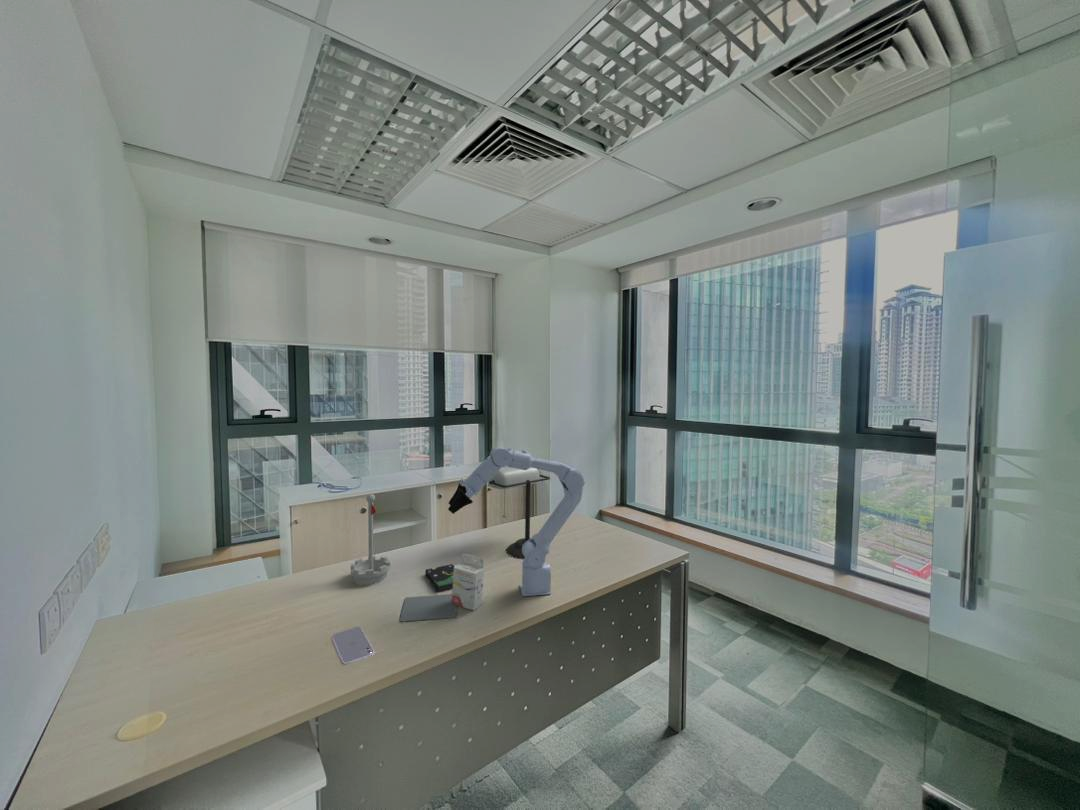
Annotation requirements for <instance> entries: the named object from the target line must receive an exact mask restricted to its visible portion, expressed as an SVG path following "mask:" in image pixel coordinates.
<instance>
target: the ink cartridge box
mask: <svg viewBox="0 0 1080 810" xmlns="http://www.w3.org/2000/svg"><path fill="white" fill-rule="evenodd" d="M472 560H473V561H472ZM484 562H485V561H484V558H483V557H478V556H475V555H472V554H466V553H462V562H460V563H459V564H456V565H454V566H455V567H454V573H453V589H451V591H452V592H451V594H452V604H456V606H459V607H463V609H464V608H465V609H468V610H471V611H475V610H477V608H479V607H480V606H481V605H483V594H484V593H483V591H484V577H485V576H484V575H485V574H484V571H485V568H484Z"/></svg>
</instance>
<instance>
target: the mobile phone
mask: <svg viewBox="0 0 1080 810" xmlns="http://www.w3.org/2000/svg"><path fill="white" fill-rule="evenodd" d="M331 639H332V642H333V644H334V647H335V649H336V650H337V653H339V654H338V656H339V658H341V659H340V661H341V660H342V661H341V663H342V662H343V663H349V662H353V661H356V662H358V661H357V660H359V661H361V660H360V659H362V658H365V659H367V658H369V657H368V656H370V657H372V656H373V654H374V655H375V651H374V649H373V647H372V645H371V643H370V641H369V640H368V638H367V636H366V634H365V633H364V631H363V629H362V628H361V627H360V626H355V627H352V628H350V629H346V630H343V631H339V632H336V633H334V634H332V636H331ZM371 655H372V656H371ZM366 657H367V658H366ZM362 660H363V659H362ZM343 663H342V664H343ZM353 663H354V662H353Z"/></svg>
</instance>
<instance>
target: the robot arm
mask: <svg viewBox="0 0 1080 810" xmlns="http://www.w3.org/2000/svg"><path fill="white" fill-rule="evenodd" d="M532 456H533V455H531V454H530V452H528V451H527V450H524V449H522V451H521V450H515V449H513V448H511V447H508V448H507V449H506V448H505V447H503V446H496V447H494V448H491V451H490V452H489V456H487V458H486V459H484V460H483V461H482V462H481V463H480V464H479V465H478V467H476V468H475V469H474V471H473V472H471V474H469V476H468V477H467V478H466V479H464V478H461V479H460V482H461V483H462V484H461V483H460V482H459V483H458V486H457V488H456V490H455V492H454V494H453V495H452V496H451V498H450V500H449V501H448V504H449V507H448V511H449V512H450V513H452V514H455V513H457V512H458V511H459V510H461V509H462V508H464V507H466V506H467V505H471V504H472V503H474V501H473V500H472V499H471V498H472V497H473V496H477V495H479V492H480V491H481V490H482V489H483V488H484V487H485V485H488V482H489V480H490V479H491V478H492V477H493V476H494V475H495V474H496V473H497V471H498V470H500V469H502V468H505V467H506V466H507V468H517V469H522V470H527V469H529V468H531V467H532V468H536V469H538V470H542V471H546V472H550V473H553V474H555V475H556V476H557V478H558V480H559V481H560V483H561V485H562V489H563V492H564V496H563V497H562V499H561V500H560V502H559V504H557V506H556V507H555V509H554V510H553V511H552V513H551V514H550V515H549V517H548V518H547V520H546V521H545V523H544V524H543V525H542V527H541V528H540V530H539V531H538V532H537V533H535V534H534V535H532V536H531V537H530V538H531V539H530V540H528V541H526V542H525V543H524V544H523V546H522V553H523V555H524V556H525V558H524V559H522V567H521V569H522V570H521V573H522V574H521V576H522V577H521V583H519V588H520V591H521V595H522V597H530V596H531V597H533V596H541V595H542V596H543V595H551V594H552V591H551V590H552V588H551V587H552V586H551V583H552V571H551V565H550V563H549V562H546V559H547V555H548V554H549V552H550V545H551V543H552V542H553V540H554V539H555V537H556V536H557V534H558V533H559V532H560V531H561V529H562V527H563V526H564V525H565V524H566V522H568V519H569V518H570V517H571V515H572V513H573V512H574V511H575V509H576V508H577V506H578V505H579V504H580V502H581V500H582V497H583V488H584V486H585V484H586V483H585V480H584V475H583V474H582V472H581V471H579V470H577V469H575V468H574V467H573V466H572V465H569V464H565V463H562V462H560V461H555V460H547V459H540V458H537V457H536V458H535V457H532Z"/></svg>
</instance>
